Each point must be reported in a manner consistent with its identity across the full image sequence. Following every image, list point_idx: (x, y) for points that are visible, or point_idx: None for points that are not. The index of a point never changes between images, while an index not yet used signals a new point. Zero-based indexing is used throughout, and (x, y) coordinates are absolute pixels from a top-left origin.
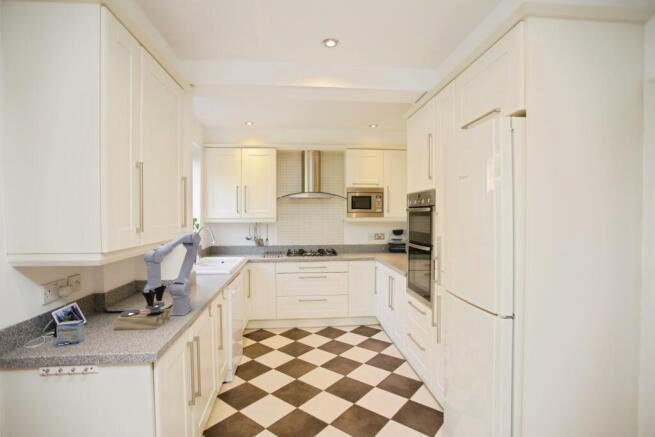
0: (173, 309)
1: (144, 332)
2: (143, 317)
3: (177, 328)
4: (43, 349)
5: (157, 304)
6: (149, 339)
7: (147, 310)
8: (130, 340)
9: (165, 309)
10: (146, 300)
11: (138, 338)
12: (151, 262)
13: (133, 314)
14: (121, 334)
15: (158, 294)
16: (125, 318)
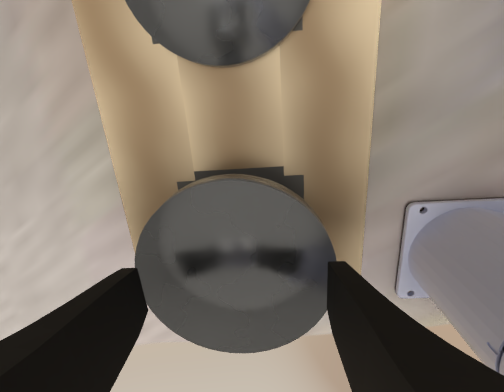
0: (444, 243)
1: (116, 208)
2: (146, 182)
3: None
4: None
5: (237, 301)
6: (48, 282)
7: (344, 89)
8: (8, 199)
9: (354, 250)
10: (44, 322)
11: (41, 225)
12: None
13: (165, 46)
14: (57, 78)
15: (362, 364)
16: (90, 11)
